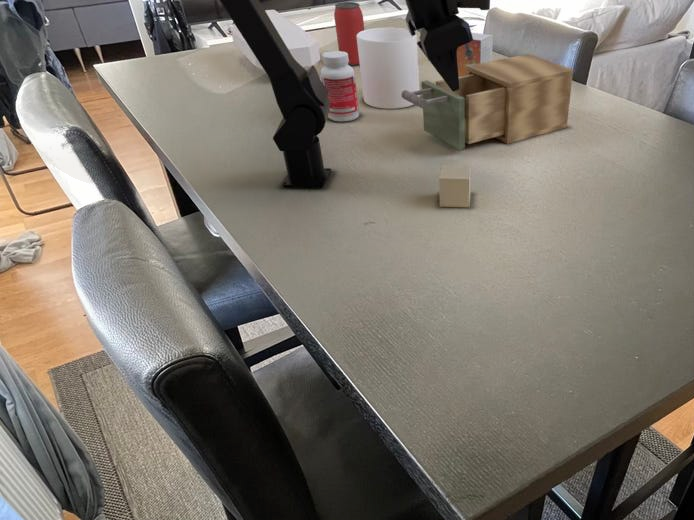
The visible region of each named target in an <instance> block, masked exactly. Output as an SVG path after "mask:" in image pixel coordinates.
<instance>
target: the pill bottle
mask: <svg viewBox="0 0 694 520" xmlns="http://www.w3.org/2000/svg"><path fill="white" fill-rule="evenodd" d="M321 56H322V57H321V58H322V63H323V65H324V66H323V67H322V68H321V70H320V79H321V82H322V83H323V84H324V86H325V87H327V88H328V89H329V94H328V98H329V101H330V110H329V114H328V117H327V118H328V119H329V120H331V121H334V122H350V121H353V120H356V119H358V118H359V116H360V107H359V100H358V99H359V98H358V92H357V91H358V90H357V85H356V84H357V82H356V77H355V71H354V69H353V67H352V66H351V65H348V62H349V58H348V53H346V52H342V51H339V50H332V51H326V52H323V53H322V54H321Z"/></svg>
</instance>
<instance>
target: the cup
mask: <svg viewBox="0 0 694 520" xmlns="http://www.w3.org/2000/svg"><path fill="white" fill-rule="evenodd" d="M415 34H416V35H414V36H412V35H411V34H410V32H409V29H408V28H403V27H389V26H388V27H386V26H385V27H374V28H368V29H364V31H361V32H359V33H358V34H357V45H358V54H359V62H360V65H359V68H360V78H361V87H362V96H363V101H364V103H365V104H366V105H368V106H370V107H373V108H377V109H386V110H387V109H388V110H392V109H393V110H394V109H404V108H407V107H411V106H414V104H413V103H411V102H409V101H407V100H405V99H403V98H402V96H401V94H402V92H403V91H404V90H407V91H409V92H413V91H417V90H421V88H420V72H419V70H420V69H419V53H418V50H419V49H418V45H417V42H418V34H417V33H416V32H415ZM417 96H419V97H421V95H417Z"/></svg>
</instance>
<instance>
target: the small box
mask: <svg viewBox="0 0 694 520" xmlns="http://www.w3.org/2000/svg"><path fill="white" fill-rule="evenodd" d="M471 34H472V37H473V40H472V41H471V42H469V43H467V44H464V45H462V46H459V47H458V49H457V64H458V76H459V77H460V76H465V75H467V66H469V65H474V64H479V63H484V62H489V61H493V41H494V40H493V39H494V35H493V34H487V33H478V32H472V31H471Z"/></svg>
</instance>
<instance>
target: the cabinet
mask: <svg viewBox="0 0 694 520" xmlns="http://www.w3.org/2000/svg"><path fill="white" fill-rule="evenodd" d="M470 74H476V75H479V76H481V77H484V78H486V79H488V80H491V81H493V82H496V83H498V84H500V85H503V86H505V87H507V98H506V123H505V134H504V135H501V136H497V137H494V138H495V139H497V140H499V141H501V142H503V143H505V144H507V145H508V144H512V143H515V142H519V141H523V140H527V139H530V138H534V137H538V136H541V135H544V134H548V133H552V132H556V131H559V130H562V129H566V128H568V121H569V112H570V111H569V110H570V101H571V93H572V84H573V74H574V69H572V68H570V67H567V66H564V65H561V64H559V63H555V62H553V61H550V60H547V59H545V58H542V57H539V56H536V55H532V54H529V53H526V54H521V55H517V56H511V57H506V58H501V59H494V60H492V61H489V62H484V63H479V64H474V65H469V66H467V75H470Z"/></svg>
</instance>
